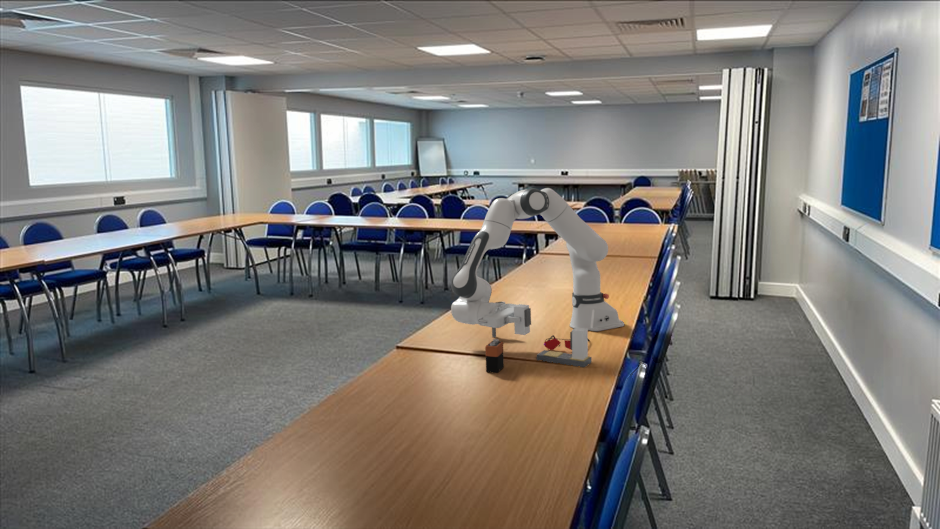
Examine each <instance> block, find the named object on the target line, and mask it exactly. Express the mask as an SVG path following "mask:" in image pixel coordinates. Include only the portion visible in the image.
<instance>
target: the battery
mask: <svg viewBox="0 0 940 529" xmlns="http://www.w3.org/2000/svg"><path fill="white" fill-rule="evenodd" d="M484 349H485V371H486V372H487V373H492V372H493V374H494V373H495V374H498V373H499V372H500V371H501V370H502V369H503V368H504V367H505V360H504V359H505V357H504V342H503V341H500V340H499V339H498V338H493V339H492V340H491V341H490V342H489V343H488V344H487V345H485V348H484Z"/></svg>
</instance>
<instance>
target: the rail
mask: <svg viewBox="0 0 940 529" xmlns="http://www.w3.org/2000/svg"><path fill="white" fill-rule="evenodd" d="M539 360H543V361H542V362H545V361H547V363H552V362H553V363H552V364H558V363H560V365H565V364H566V366H571V365H573V366H572V367H578V366H580V368H584V367H585V368H586V367H587V366H589V365H590V364H592V363H591V362H592V360H593V358H592V356H589V355H588V357H587V358H585V359H584V360H579V359H573V358H572V353H567V352H562V351H554V350H542V351H540V352H538V353H537V354H536V361H539ZM588 364H589V365H588Z"/></svg>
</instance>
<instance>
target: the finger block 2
mask: <svg viewBox="0 0 940 529" xmlns="http://www.w3.org/2000/svg"><path fill="white" fill-rule="evenodd" d="M588 331H589V330H588V329H587V328H579V327H576V328H572V329H571V331H570V332H569V333H570V334H569V335H570V336H569V337H570V338H569V339H570V340H569V341H570V349H569V350H571V349H572V350H571V354H572V358H573V359H579V360H584V359H585V358H587V357H588V356H589V354H588V352H589V348H588V347H589V345H588V342H589V341H588V339H589V338H588V337H589V336H588V334H589V332H588Z"/></svg>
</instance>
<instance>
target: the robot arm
mask: <svg viewBox="0 0 940 529" xmlns="http://www.w3.org/2000/svg"><path fill="white" fill-rule="evenodd" d="M538 215H540V216H542V218H543V220H544V221H545V222H546V223H547V224H548V225H549V227H550V228H552V230H553V231H554V232H555V233H556V234H557V236H558V237H560V238H561V239H562V240H564V241H565V242H566V244H565V246H566V249H567V251H568V255H569V260H570V265H571V268H572V269H571V270H572V285H573V286H572V288H573V291H572V293H571V294H572V297H571V301H572V303H571V304H572V312H571V313H572V314H571V319H570V323H569V327H570V328H572V329H575V328H576V327H579V328H587V329H588V331H590V332H591V331H592V332H600V331H605V330H612V329H616V328H619V327H620V328H621V327H624V326H625V322H623V320H621V319H620V318H619V312H618V311H617V309H616V308H614V307H613V306H612V305H611V304H609V303H608V302H606V301H605V299H606V300H608V299H609V298H610V295H609V294H608V293H603V292H601V273H600V270H599V268H598V264H597V262H600V261H603V260H604V259H605V258H606V257H607V256H608V252H609V246H608V245H609V244H608V242H606V240H605V239H604V238H602V237H601V235H599V234H598V233H597V232H596V231H595V230H594V229H593V227H591V226H590V225H589V224H587V223H586V222H585V220H583V219H582V218H581V217H580V216H579V215H578V214H577V212H576V211H575V210H574V209H573V208H572V207H571V206H570V205H569V203H568V202H567V201H566V200H565V199H564V197H562V196H561V195H560V194H559V193H557V192H556V191H555V190H554V189H552V188H550V187H545V188H542V189H539V188H530V187H529V188H527V189H522V190H519V191H517V192H513V193H511V194H510V195H508V196H507V197H506V198H505V197H499V198H496V199H493V201H492V203H491V204H490V206H489V208H488V211H487V212H486V214H485V218H484V220H483V223H482V226H481V228H480V229H479V232H477V233H476V234H475V236H474V237H472V238H473V239H472V240H471V242H470V244H469V246H468V248H467V250H466V253H465V255H464V257H463V259H462V262H461V264H460V266H459V267H458V269H457V271H456V272H455V273H454V275H453V277H452V278H451V285H450V286H451V290H452V293H453V294H454V295H456V296H457V297H458V298H457V299H456V300H455V301H453V302H452V304H451V306H450V311H451V316H452V318H453V319H454V320H455V321H456V322H458V323H462V324H466V325H479V326H482V327H488V328H491V329H492V328H496V329H499V328H502V327H505V326H507V325H508V324H514V323H519V322H521V317H514V306H516V305H517V304H515V303H506V301H496V302H493V301H492V302H491V301H490V300H491V296H492V291H493V290H492V289H493V288H492V286H491V284H490V283H489V282H488V281H487V280H485V279H484V278H482V277H480V276H478V273H477V272H478V268H479V266H480V264H481V262H482V259H483V257H484V255H485V253H486V252H487V251H489V250H495V249H496V250H497V249H500V248H503V247H504V246H505V245H506V244H507V242H508V240H509V237H510V236H511V235H510V234H511V232H512V229H513V225H514V222H515V221H517V220H518V221H519V220H525V219H529V218H530V219H531V218H532V217H535V216H538Z"/></svg>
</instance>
